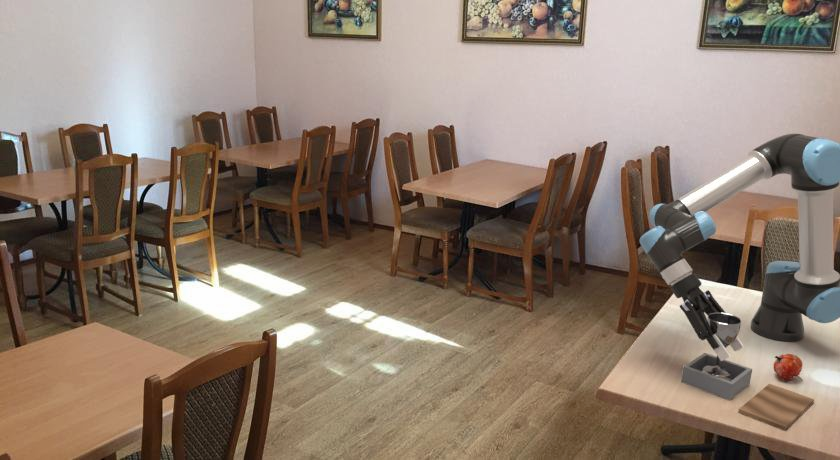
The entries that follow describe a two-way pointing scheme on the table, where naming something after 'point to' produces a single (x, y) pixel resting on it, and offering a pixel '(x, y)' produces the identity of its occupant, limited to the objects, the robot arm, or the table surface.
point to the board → (776, 406)
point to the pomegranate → (787, 367)
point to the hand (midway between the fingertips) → (732, 353)
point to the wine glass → (722, 338)
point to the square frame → (712, 383)
